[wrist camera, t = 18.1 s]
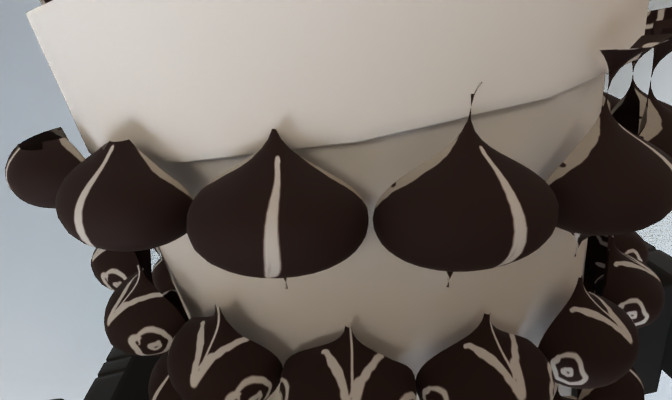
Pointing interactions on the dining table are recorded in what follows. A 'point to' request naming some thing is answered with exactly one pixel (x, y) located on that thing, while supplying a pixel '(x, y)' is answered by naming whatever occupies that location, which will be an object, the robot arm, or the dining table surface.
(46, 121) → the dining table surface
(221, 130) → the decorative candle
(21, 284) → the dining table surface
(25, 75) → the dining table surface
